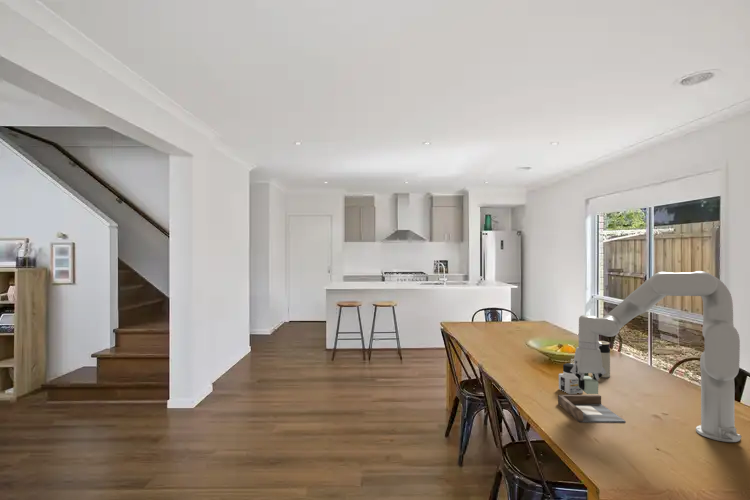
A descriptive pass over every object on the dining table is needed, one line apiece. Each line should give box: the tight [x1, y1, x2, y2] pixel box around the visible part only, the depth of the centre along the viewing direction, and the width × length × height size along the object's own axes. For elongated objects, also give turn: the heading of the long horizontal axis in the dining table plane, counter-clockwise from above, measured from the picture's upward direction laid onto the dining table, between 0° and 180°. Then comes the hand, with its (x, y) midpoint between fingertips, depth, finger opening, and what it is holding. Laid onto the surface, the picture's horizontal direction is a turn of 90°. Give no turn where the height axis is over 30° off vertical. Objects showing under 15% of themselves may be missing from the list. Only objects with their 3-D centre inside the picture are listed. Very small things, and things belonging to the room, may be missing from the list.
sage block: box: [578, 375, 599, 395], centre depth 178 cm, size 4×8×5 cm, turn 179°
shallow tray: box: [557, 394, 626, 424], centre depth 177 cm, size 20×18×4 cm
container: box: [558, 362, 584, 395], centre depth 204 cm, size 8×8×13 cm
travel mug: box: [599, 340, 611, 379], centre depth 229 cm, size 8×8×18 cm
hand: (588, 388), depth 178 cm, fingers closed on sage block, 4 cm apart
